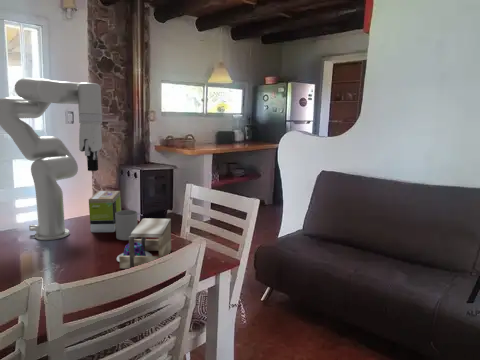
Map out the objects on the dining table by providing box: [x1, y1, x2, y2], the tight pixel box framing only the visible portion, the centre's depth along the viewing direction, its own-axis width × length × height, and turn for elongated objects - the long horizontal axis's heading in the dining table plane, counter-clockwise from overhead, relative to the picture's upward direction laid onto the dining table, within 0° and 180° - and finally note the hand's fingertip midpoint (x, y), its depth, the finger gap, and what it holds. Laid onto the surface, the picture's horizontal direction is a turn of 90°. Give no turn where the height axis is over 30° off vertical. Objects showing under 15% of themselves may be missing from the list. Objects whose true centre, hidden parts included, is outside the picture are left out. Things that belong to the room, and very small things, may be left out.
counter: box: [118, 217, 172, 269], centre depth 133 cm, size 14×18×12 cm
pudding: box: [116, 242, 153, 263], centre depth 134 cm, size 12×12×5 cm
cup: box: [115, 209, 139, 241], centre depth 155 cm, size 8×8×10 cm
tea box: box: [88, 190, 122, 233], centre depth 166 cm, size 15×10×15 cm, turn 5°
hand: (93, 170), depth 139 cm, fingers closed
